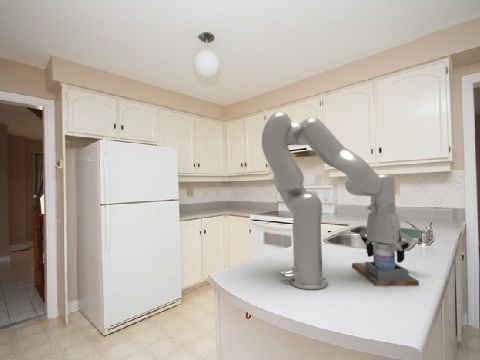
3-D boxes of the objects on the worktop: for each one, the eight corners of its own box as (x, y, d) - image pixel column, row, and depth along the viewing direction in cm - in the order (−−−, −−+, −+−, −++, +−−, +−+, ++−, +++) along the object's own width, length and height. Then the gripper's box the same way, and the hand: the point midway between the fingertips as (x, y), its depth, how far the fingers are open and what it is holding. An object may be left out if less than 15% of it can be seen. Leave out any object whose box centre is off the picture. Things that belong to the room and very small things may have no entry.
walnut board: (374, 285, 86) (374, 281, 86) (352, 266, 106) (352, 263, 106) (418, 285, 85) (418, 280, 85) (387, 266, 105) (387, 262, 105)
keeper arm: (368, 232, 104) (368, 225, 104) (373, 231, 106) (372, 224, 106) (417, 238, 90) (417, 230, 91) (421, 237, 93) (421, 228, 93)
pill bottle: (373, 276, 90) (372, 244, 90) (377, 271, 95) (376, 240, 95) (394, 280, 86) (392, 246, 86) (397, 275, 91) (395, 242, 91)
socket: (378, 281, 86) (377, 270, 86) (365, 271, 95) (365, 261, 95) (408, 280, 85) (407, 270, 85) (392, 271, 95) (392, 261, 95)
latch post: (375, 265, 102) (374, 234, 102) (372, 263, 104) (371, 233, 105) (381, 265, 102) (380, 234, 102) (378, 263, 104) (377, 232, 105)
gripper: (353, 209, 95) (355, 256, 95) (406, 212, 82) (408, 266, 81) (363, 207, 100) (365, 252, 100) (415, 210, 86) (417, 261, 86)
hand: (384, 258), depth 90 cm, fingers open, 9 cm apart
